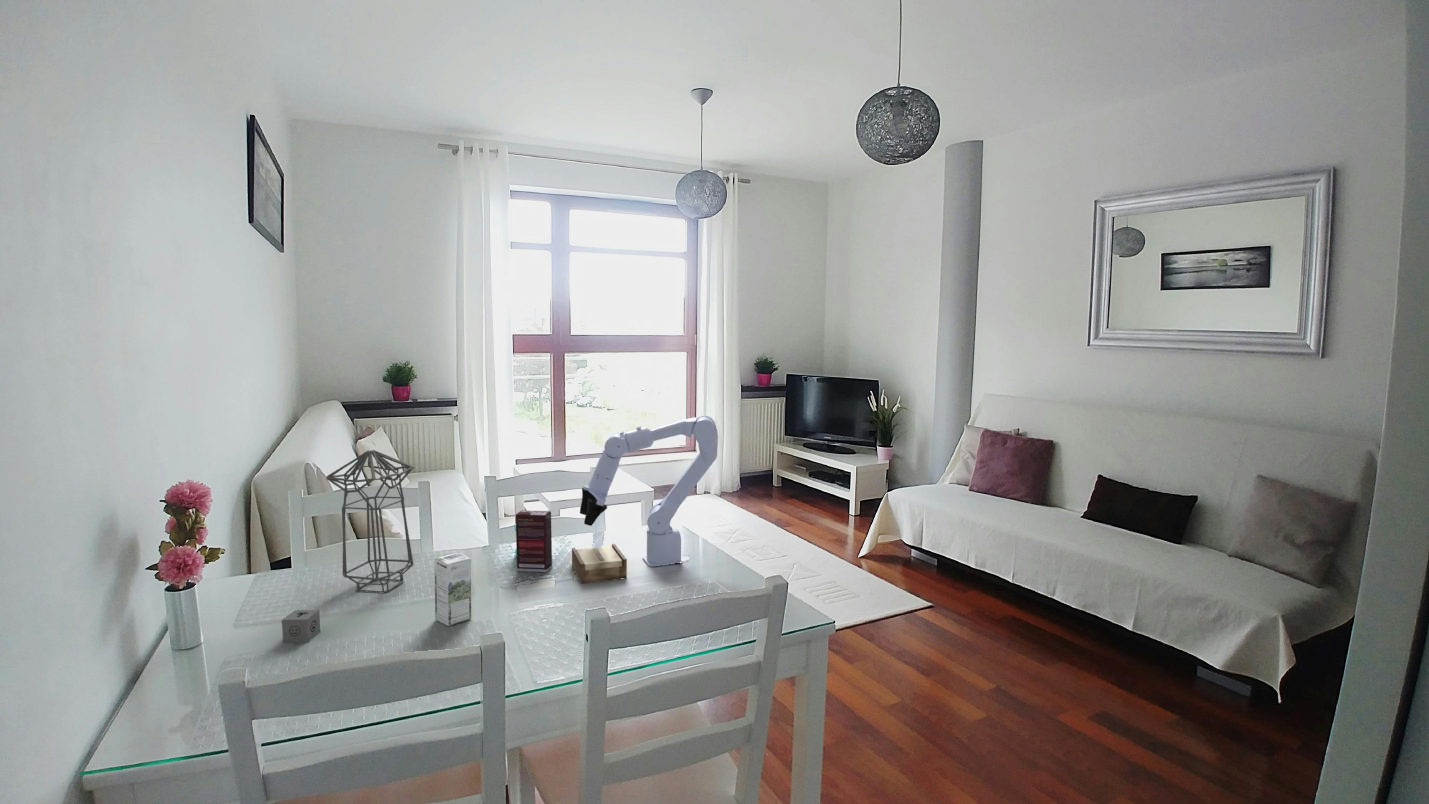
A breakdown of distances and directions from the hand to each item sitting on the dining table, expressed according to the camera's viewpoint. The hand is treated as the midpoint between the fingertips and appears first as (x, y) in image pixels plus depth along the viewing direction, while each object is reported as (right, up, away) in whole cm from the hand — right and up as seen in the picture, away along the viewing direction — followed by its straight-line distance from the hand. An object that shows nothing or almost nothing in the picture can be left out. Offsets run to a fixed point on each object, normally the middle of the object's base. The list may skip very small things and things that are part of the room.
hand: (585, 519), depth 196 cm
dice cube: (-51, -17, -49) cm, 73 cm away
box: (+5, -13, -8) cm, 16 cm away
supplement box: (-13, -13, -6) cm, 19 cm away
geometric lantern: (-49, -14, -20) cm, 55 cm away
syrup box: (-22, -16, -40) cm, 48 cm away
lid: (+5, -10, -8) cm, 14 cm away
